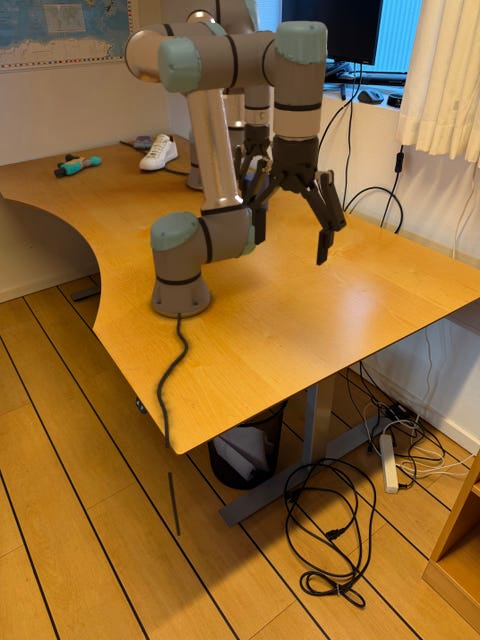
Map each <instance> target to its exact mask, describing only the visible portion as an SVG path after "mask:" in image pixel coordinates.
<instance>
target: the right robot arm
mask: <svg viewBox="0 0 480 640" xmlns="http://www.w3.org/2000/svg"><path fill="white" fill-rule="evenodd" d="M259 14H260V13H259V8H258V3H257V0H196V2H194V3H193V4H192V5H191V7H190V8H189V11H188V12H187V15H186V19H185V23H190V22H198V21H203V22H215V23H218V24H219V25H220V26H221V27H222V28H223V29H224V30H225V32H226V34H227V35H235V34H250V33H252V32H254V31H260V15H259ZM271 92H272V86H269V85H257V86H247V87H236V88H224V90H223V92H222V94H223V96H226V106H227V107H226V110H227V111H226V112H227V113H226V115H227V116H226V119H227V126H228V132H229V138H230V144H231V151H232V157H233V163H234V170H235V176H236V181H238V183H237V188H238V191H240V197H241V198H242V199H244V197H245V194H246V192H247V181H246V180H245V176H246V174H248V171H249V168H250V166H251V163H252V161H253V160H254V158H255V157H262V158H264V157H266V156H269V157H270V155H269V153H268V149H269V147H270V151H271V152H272V150H273V140H271V139H270V136H271V125H270V122H271V100H272V99H271V95H272V93H271ZM119 144H124V145H127V146H129V147H132V148H134V146H133V145H134V144H131V143H129V142H127V141H122V140H119ZM188 145H189V158H190V160H189V161H190V167H189V168H190V169H189V172H184V171H179V170H173V169H171V168H168V167H165V166H164V167H162V168H161V169H163V170H165V171H167V172H170V173H173V174H178V175H184V176H187V187H188V188H189V189H191V190H193V191H196V192H197V191H199V192H203V189H202V183H201V177H200V172H199V166H198V160H197V155H196V149H195V143H194V138H193V132H192V127H191V128H190V129H189V131H188ZM136 150H138V151H140V152H141V153H142V154H144V155H145V156H146V155H147V154H148V153H147V152H146V151H145V150H144V149H140V148H137V149H136ZM271 158H272V159H271V160H272V161H273V160H274V159H273V156H272V155H271ZM242 159H243V162H242ZM268 175H269V184H270V183H271V182H272V181H273V180H274V179H275V176H274V174H273V172H272V170H270V171H269V172H268Z"/></svg>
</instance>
